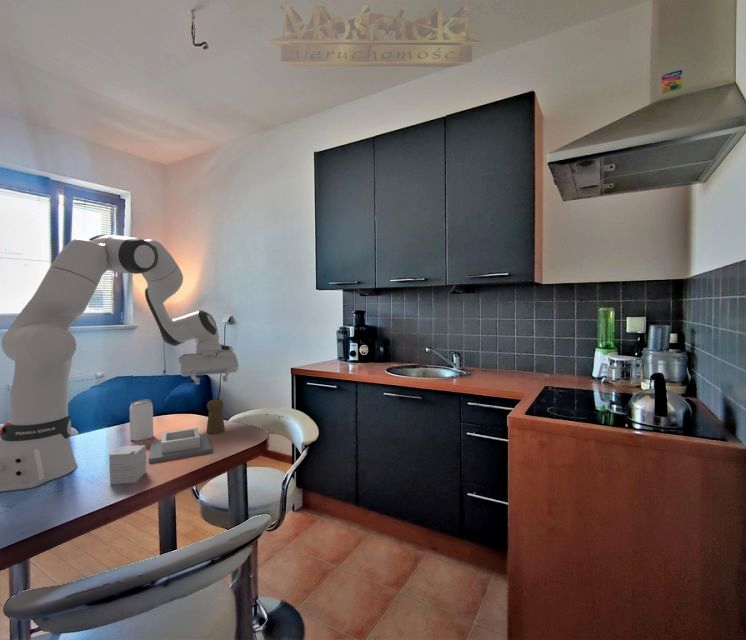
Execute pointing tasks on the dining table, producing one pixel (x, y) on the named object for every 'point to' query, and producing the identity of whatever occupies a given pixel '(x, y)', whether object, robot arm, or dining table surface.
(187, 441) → the grey socket base
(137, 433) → the can
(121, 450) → the skincare box
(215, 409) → the brown flared peg
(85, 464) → the dining table surface
